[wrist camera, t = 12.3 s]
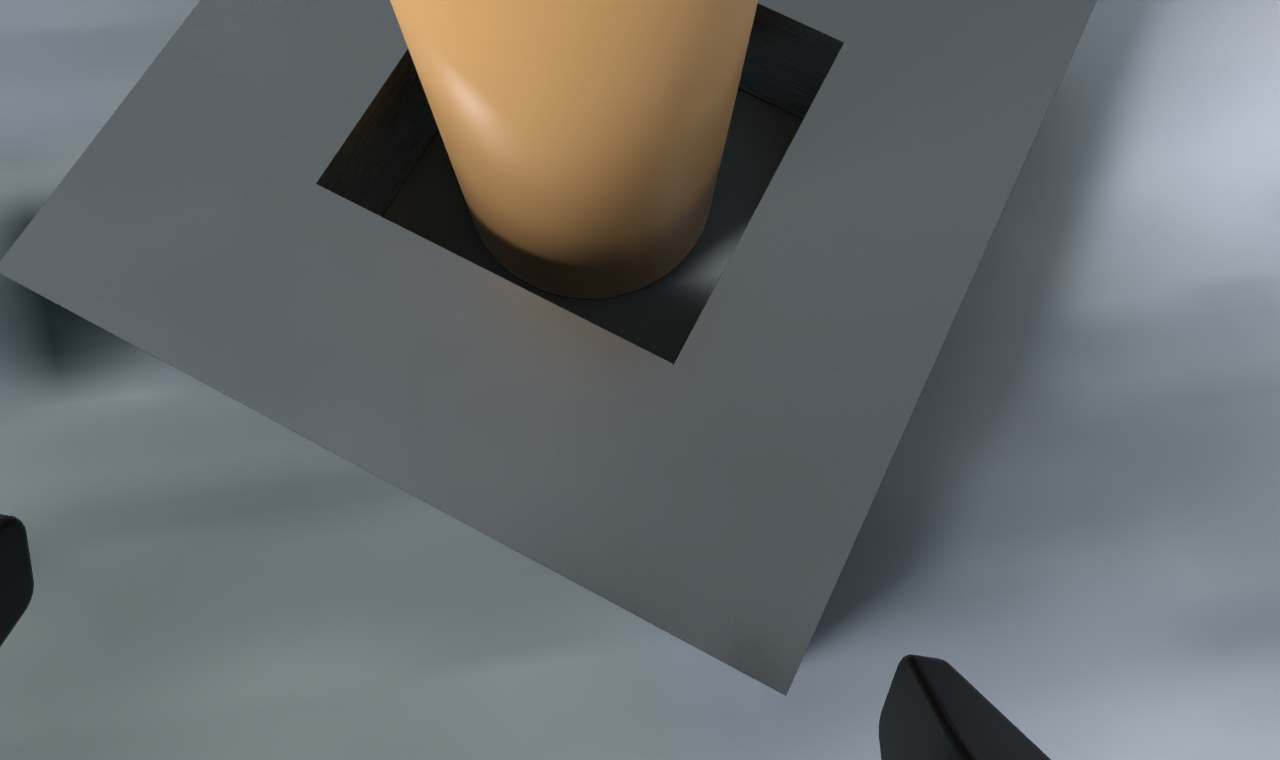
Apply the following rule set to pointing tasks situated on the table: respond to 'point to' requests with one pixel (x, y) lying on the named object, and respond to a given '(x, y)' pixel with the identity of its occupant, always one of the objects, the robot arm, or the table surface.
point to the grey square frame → (549, 335)
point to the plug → (583, 127)
